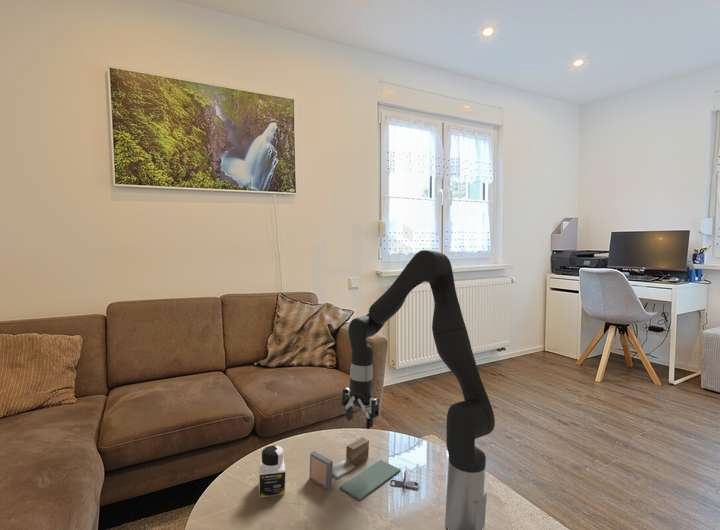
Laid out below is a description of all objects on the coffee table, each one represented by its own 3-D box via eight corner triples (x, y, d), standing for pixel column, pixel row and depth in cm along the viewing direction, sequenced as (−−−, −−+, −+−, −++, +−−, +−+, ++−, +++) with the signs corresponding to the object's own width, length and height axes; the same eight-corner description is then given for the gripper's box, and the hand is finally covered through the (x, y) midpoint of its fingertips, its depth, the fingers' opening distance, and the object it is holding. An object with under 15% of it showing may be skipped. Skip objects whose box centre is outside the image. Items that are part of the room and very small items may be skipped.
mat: (400, 471, 126) (400, 469, 126) (359, 500, 111) (360, 498, 111) (380, 461, 131) (380, 459, 131) (339, 488, 116) (339, 486, 116)
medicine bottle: (259, 498, 110) (260, 456, 109) (258, 483, 117) (259, 443, 116) (284, 495, 112) (286, 454, 111) (282, 480, 119) (284, 441, 118)
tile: (331, 487, 116) (332, 461, 116) (327, 490, 115) (328, 463, 114) (313, 476, 121) (314, 451, 121) (309, 478, 120) (310, 453, 120)
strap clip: (418, 485, 120) (419, 471, 119) (418, 491, 117) (419, 477, 116) (391, 481, 121) (391, 467, 121) (390, 487, 118) (390, 473, 118)
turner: (370, 458, 133) (371, 441, 132) (337, 479, 120) (338, 460, 120) (359, 453, 136) (360, 436, 135) (326, 472, 124) (327, 453, 123)
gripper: (385, 379, 128) (382, 427, 129) (352, 368, 137) (350, 413, 138) (370, 385, 122) (368, 435, 123) (337, 373, 131) (335, 420, 132)
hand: (358, 423), depth 131 cm, fingers open, 8 cm apart
